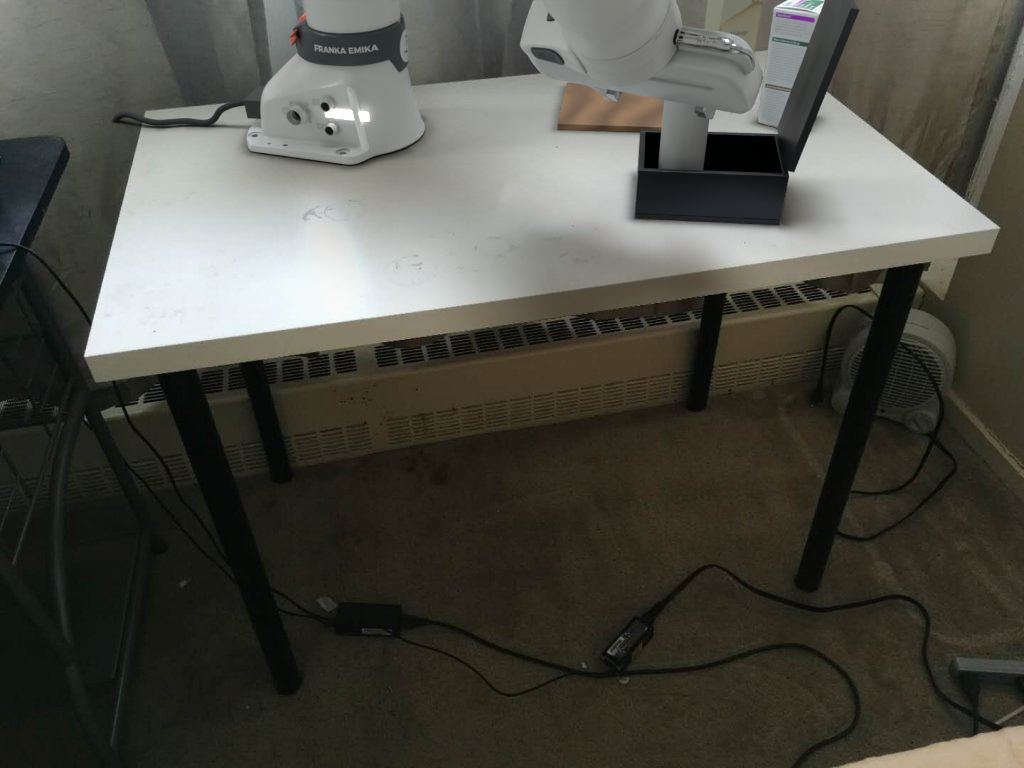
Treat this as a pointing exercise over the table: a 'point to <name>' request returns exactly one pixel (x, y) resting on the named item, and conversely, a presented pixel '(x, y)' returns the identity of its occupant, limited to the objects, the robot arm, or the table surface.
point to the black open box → (715, 181)
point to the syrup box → (786, 54)
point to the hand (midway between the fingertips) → (660, 101)
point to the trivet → (608, 111)
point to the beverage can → (682, 137)
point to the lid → (815, 77)
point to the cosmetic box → (735, 18)
